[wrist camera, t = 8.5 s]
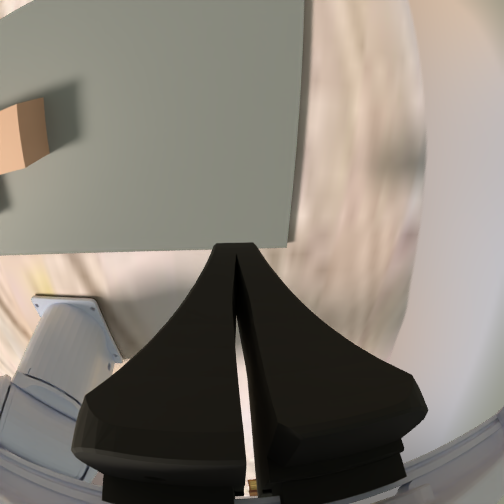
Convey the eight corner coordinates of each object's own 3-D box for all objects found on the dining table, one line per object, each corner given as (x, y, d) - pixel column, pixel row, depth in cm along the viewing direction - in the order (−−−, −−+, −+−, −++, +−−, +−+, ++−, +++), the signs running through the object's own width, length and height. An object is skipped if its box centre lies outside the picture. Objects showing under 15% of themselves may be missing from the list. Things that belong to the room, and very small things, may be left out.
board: (285, 243, 21) (286, 247, 20) (-38, 253, 18) (-41, 256, 17) (302, -36, 10) (304, -40, 9) (-72, 79, 6) (-76, 81, 6)
